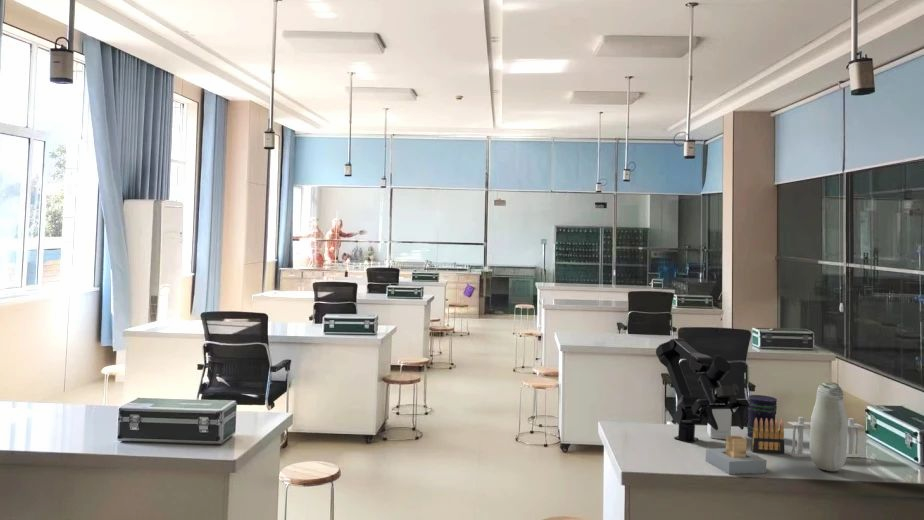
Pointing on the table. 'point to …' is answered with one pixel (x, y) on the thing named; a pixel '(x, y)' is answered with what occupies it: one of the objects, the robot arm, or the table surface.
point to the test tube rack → (801, 425)
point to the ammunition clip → (768, 437)
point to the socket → (736, 462)
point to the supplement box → (721, 424)
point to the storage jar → (761, 411)
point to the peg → (736, 446)
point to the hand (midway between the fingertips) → (730, 429)
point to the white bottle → (829, 428)
